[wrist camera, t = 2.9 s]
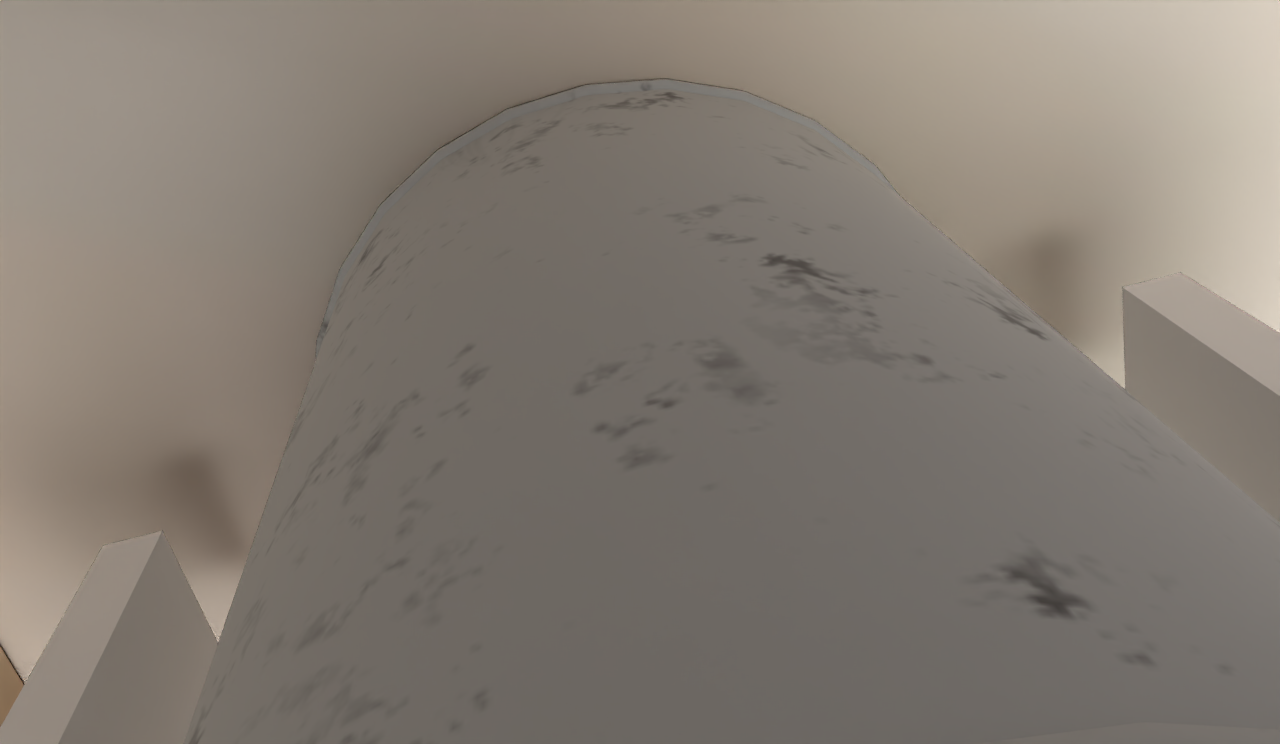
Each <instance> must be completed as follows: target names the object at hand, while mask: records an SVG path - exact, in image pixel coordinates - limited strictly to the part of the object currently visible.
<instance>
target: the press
mask: <svg viewBox="0 0 1280 744" xmlns="http://www.w3.org/2000/svg"><path fill="white" fill-rule="evenodd" d="M23 686H24V685H23V683H22V681H21V680H20V678H19V676H18V675H17V673H16V672H15V670H14V668H13V667H12V665H11V663H10V662H9V660H8V658H7V657H6V655H5V653H4V652H3V650H2V649H1V647H0V727H1V725H2V723H3V722H4V720H5V718H6V716H7V715H8V713H9V711H10V709H11V708H12V706H13V704H14V702H15V700H16V699H17V697H18V695H19V693H20V692H21V690H22V688H23Z"/></svg>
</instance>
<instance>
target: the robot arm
mask: <svg viewBox="0 0 1280 744" xmlns="http://www.w3.org/2000/svg"><path fill="white" fill-rule="evenodd" d="M1122 298H1123V329H1124V361H1125V390H1126V391H1127V392H1128V393H1129V394H1131V395H1132V396H1133V397H1134V398H1135V399H1136V400H1138V401H1139V402H1140V403H1141V404H1142V405H1143V406H1145V407H1146V408H1147V409H1148V410H1149V411H1150V412H1152V413H1153V414H1154V415H1155V416H1156V417H1157V418H1159V419H1160V420H1161V421H1162V422H1163V423H1164V424H1166V425H1167V426H1168V427H1169V428H1170V429H1171V430H1173V431H1174V432H1175V433H1176V434H1177V435H1178V436H1179V437H1181V438H1182V439H1183V440H1184V441H1185V442H1186V443H1188V444H1189V445H1190V446H1191V447H1192V448H1193V449H1195V450H1196V451H1197V452H1198V453H1199V454H1200V455H1202V456H1203V457H1204V458H1205V459H1206V460H1207V461H1209V462H1210V463H1211V464H1212V465H1213V466H1214V467H1216V468H1217V469H1218V470H1219V471H1220V472H1221V473H1223V474H1224V475H1225V476H1226V477H1227V478H1228V479H1230V480H1231V481H1232V482H1233V483H1234V484H1235V485H1236V486H1238V487H1239V488H1240V489H1241V490H1242V491H1243V492H1245V493H1246V494H1247V495H1248V496H1249V497H1250V498H1252V499H1253V500H1254V501H1255V502H1256V503H1257V504H1259V505H1260V506H1261V507H1262V508H1263V509H1264V510H1266V511H1267V512H1268V513H1269V514H1270V515H1271V516H1273V517H1274V518H1275V519H1276V520H1277V521H1278V522H1280V333H1279V332H1277V331H1276V330H1274V329H1272V328H1271V327H1269V326H1267V325H1266V324H1264V323H1262V322H1261V321H1259V320H1258V319H1256V318H1254V317H1253V316H1251V315H1249V314H1248V313H1246V312H1244V311H1243V310H1241V309H1240V308H1238V307H1236V306H1235V305H1233V304H1231V303H1230V302H1228V301H1226V300H1225V299H1223V298H1222V297H1220V296H1218V295H1217V294H1215V293H1213V292H1212V291H1210V290H1208V289H1207V288H1205V287H1204V286H1202V285H1200V284H1199V283H1197V282H1195V281H1194V280H1192V279H1190V278H1189V277H1187V276H1186V275H1184V274H1182V273H1181V272H1180V273H1176V274H1172V275H1168V276H1164V277H1160V278H1156V279H1152V280H1148V281H1144V282H1140V283H1136V284H1132V285H1128V286H1124V287H1122ZM217 645H218V642H217V640H216V638H215V636H214V634H213V632H212V630H211V628H210V626H209V624H208V622H207V620H206V618H205V615H204V613H203V611H202V609H201V607H200V605H199V603H198V601H197V599H196V597H195V595H194V593H193V591H192V589H191V587H190V585H189V583H188V581H187V579H186V577H185V575H184V573H183V571H182V569H181V567H180V565H179V563H178V561H177V559H176V557H175V555H174V553H173V551H172V549H171V547H170V545H169V543H168V541H167V539H166V537H165V534H164V532H163V530H162V531H159V532H155V533H151V534H147V535H143V536H139V537H135V538H131V539H127V540H123V541H119V542H115V543H111V544H107V545H103V546H102V548H101V550H100V552H99V554H98V555H97V557H96V559H95V561H94V562H93V564H92V566H91V568H90V569H89V571H88V573H87V575H86V577H85V578H84V580H83V582H82V584H81V585H80V587H79V589H78V591H77V592H76V594H75V596H74V598H73V600H72V601H71V603H70V605H69V607H68V608H67V610H66V612H65V614H64V615H63V617H62V619H61V621H60V623H59V624H58V626H57V628H56V630H55V631H54V633H53V635H52V637H51V638H50V640H49V642H48V644H47V646H46V647H45V649H44V651H43V653H42V654H41V656H40V658H39V660H38V662H37V663H36V665H35V667H34V669H33V670H32V672H31V674H30V676H29V677H28V679H27V681H26V683H25V685H24V686H23V688H22V690H21V692H20V693H19V695H18V697H17V699H16V700H15V702H14V704H13V706H12V708H11V709H10V711H9V713H8V715H7V716H6V718H5V720H4V722H3V723H2V725H1V727H0V744H183V743H184V740H185V738H186V735H187V732H188V729H189V726H190V723H191V720H192V717H193V714H194V712H195V709H196V706H197V703H198V700H199V697H200V694H201V691H202V688H203V685H204V683H205V680H206V677H207V674H208V671H209V668H210V665H211V662H212V659H213V657H214V654H215V651H216V648H217Z"/></svg>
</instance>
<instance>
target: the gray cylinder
mask: <svg viewBox="0 0 1280 744" xmlns="http://www.w3.org/2000/svg"><path fill="white" fill-rule="evenodd" d="M183 744H1280V522H1278V521H1277V520H1276V519H1275V518H1274V517H1273V516H1271V515H1270V514H1269V513H1268V512H1267V511H1266V510H1264V509H1263V508H1262V507H1261V506H1260V505H1259V504H1257V503H1256V502H1255V501H1254V500H1253V499H1252V498H1250V497H1249V496H1248V495H1247V494H1246V493H1245V492H1243V491H1242V490H1241V489H1240V488H1239V487H1238V486H1236V485H1235V484H1234V483H1233V482H1232V481H1231V480H1230V479H1228V478H1227V477H1226V476H1225V475H1224V474H1223V473H1221V472H1220V471H1219V470H1218V469H1217V468H1216V467H1214V466H1213V465H1212V464H1211V463H1210V462H1209V461H1207V460H1206V459H1205V458H1204V457H1203V456H1202V455H1200V454H1199V453H1198V452H1197V451H1196V450H1195V449H1193V448H1192V447H1191V446H1190V445H1189V444H1188V443H1186V442H1185V441H1184V440H1183V439H1182V438H1181V437H1179V436H1178V435H1177V434H1176V433H1175V432H1174V431H1173V430H1171V429H1170V428H1169V427H1168V426H1167V425H1166V424H1164V423H1163V422H1162V421H1161V420H1160V419H1159V418H1157V417H1156V416H1155V415H1154V414H1153V413H1152V412H1150V411H1149V410H1148V409H1147V408H1146V407H1145V406H1143V405H1142V404H1141V403H1140V402H1139V401H1138V400H1136V399H1135V398H1134V397H1133V396H1132V395H1131V394H1129V393H1128V392H1127V391H1126V390H1125V389H1124V388H1122V387H1121V386H1120V385H1119V384H1118V383H1117V382H1115V381H1114V380H1113V379H1112V378H1111V377H1110V376H1109V375H1107V374H1106V373H1105V372H1104V371H1103V370H1102V369H1100V368H1099V367H1098V366H1097V365H1096V364H1095V363H1093V362H1092V361H1091V360H1090V359H1089V358H1088V357H1086V356H1085V355H1084V354H1083V353H1082V352H1081V351H1079V350H1078V349H1077V348H1076V347H1075V346H1074V345H1072V344H1071V343H1070V342H1069V341H1068V340H1067V339H1065V338H1064V337H1063V336H1062V335H1061V334H1060V333H1058V332H1057V331H1056V330H1055V329H1054V328H1053V327H1052V326H1050V325H1049V324H1048V323H1047V322H1046V321H1045V320H1043V319H1042V318H1041V317H1040V316H1039V315H1038V314H1036V313H1035V312H1034V311H1033V310H1032V309H1031V308H1029V307H1028V306H1027V305H1026V304H1025V303H1024V302H1022V301H1021V300H1020V299H1019V298H1018V297H1017V296H1015V295H1014V294H1013V293H1012V292H1011V291H1010V290H1008V289H1007V288H1006V287H1005V286H1004V285H1003V284H1001V283H1000V282H999V281H998V280H997V279H996V278H995V277H993V276H992V275H991V274H990V273H989V272H988V271H986V270H985V269H984V268H983V267H982V266H981V265H979V264H978V263H977V262H976V261H975V260H974V259H972V258H971V257H970V256H969V255H968V254H967V253H965V252H964V251H963V250H962V249H961V248H960V247H958V246H957V245H956V244H955V243H954V242H953V241H951V240H950V239H949V238H948V237H947V236H946V235H944V234H943V233H942V232H941V231H940V230H939V229H937V228H936V227H935V226H934V225H933V224H932V223H931V222H929V221H928V220H927V219H926V218H925V217H924V216H922V215H921V214H920V213H919V212H918V211H917V210H915V209H914V208H913V207H912V206H911V205H910V204H908V203H907V202H906V201H905V200H904V199H903V198H901V197H900V195H899V194H898V193H897V192H896V190H895V189H894V188H893V187H892V185H891V184H890V183H889V182H888V181H887V179H886V178H885V177H884V176H883V174H882V173H881V172H880V171H879V169H878V168H877V167H876V166H875V165H874V164H873V163H871V162H870V161H869V160H867V159H866V158H865V157H863V156H862V155H861V154H859V153H858V152H857V151H855V150H854V149H853V148H851V147H850V146H849V145H847V144H846V143H844V142H843V141H842V140H840V139H839V138H838V137H836V136H835V135H834V134H832V133H831V132H830V131H828V130H827V129H826V128H824V127H823V126H822V125H820V124H819V123H818V122H816V121H815V120H813V119H810V118H808V117H806V116H803V115H801V114H798V113H796V112H794V111H791V110H789V109H786V108H784V107H781V106H779V105H777V104H774V103H772V102H769V101H767V100H765V99H762V98H760V97H757V96H755V95H753V94H750V93H748V92H745V91H741V90H734V89H728V88H722V87H715V86H709V85H703V84H696V83H690V82H683V81H677V80H671V79H656V80H643V81H630V82H616V83H603V84H590V85H583V86H580V87H576V88H573V89H570V90H567V91H564V92H560V93H557V94H554V95H551V96H548V97H544V98H541V99H538V100H535V101H532V102H528V103H525V104H522V105H519V106H516V107H512V108H509V109H506V110H505V111H503V112H501V113H500V114H498V115H496V116H494V117H493V118H491V119H489V120H488V121H486V122H484V123H483V124H481V125H479V126H477V127H476V128H474V129H472V130H471V131H469V132H467V133H466V134H464V135H462V136H460V137H459V138H457V139H455V140H454V141H452V142H450V143H449V144H447V145H445V146H443V147H442V148H440V149H438V150H437V151H436V152H435V153H434V154H433V155H432V156H431V157H429V158H428V159H427V160H426V161H425V162H424V163H423V164H422V165H421V166H420V167H419V168H418V169H417V170H416V171H415V172H414V173H413V174H412V175H411V176H410V177H409V178H408V179H407V180H406V181H404V182H403V183H402V184H401V185H400V186H399V187H398V188H397V189H396V190H395V191H394V192H393V193H392V194H391V195H390V196H389V197H388V198H387V199H386V200H385V201H384V202H383V203H382V204H381V205H380V206H379V208H378V209H377V211H376V212H375V214H374V216H373V217H372V219H371V220H370V222H369V223H368V225H367V227H366V228H365V230H364V231H363V233H362V234H361V236H360V238H359V239H358V241H357V242H356V244H355V246H354V247H353V249H352V250H351V252H350V253H349V255H348V257H347V258H346V260H345V261H344V263H343V264H342V266H341V268H340V270H339V273H338V276H337V279H336V282H335V285H334V288H333V291H332V295H331V298H330V301H329V304H328V307H327V310H326V313H325V316H324V319H323V322H322V325H321V328H320V331H319V334H318V337H317V343H316V360H315V365H314V367H313V370H312V373H311V376H310V379H309V382H308V385H307V388H306V391H305V393H304V396H303V399H302V402H301V405H300V408H299V411H298V414H297V417H296V419H295V422H294V425H293V428H292V431H291V434H290V437H289V440H288V443H287V446H286V448H285V451H284V454H283V457H282V460H281V463H280V466H279V469H278V472H277V474H276V477H275V480H274V483H273V486H272V489H271V492H270V495H269V498H268V500H267V503H266V506H265V509H264V512H263V515H262V518H261V521H260V524H259V526H258V529H257V532H256V535H255V538H254V541H253V544H252V547H251V550H250V552H249V555H248V558H247V561H246V564H245V567H244V570H243V573H242V576H241V579H240V581H239V584H238V587H237V590H236V593H235V596H234V599H233V602H232V605H231V607H230V610H229V613H228V616H227V619H226V622H225V625H224V628H223V631H222V633H221V636H220V639H219V642H218V645H217V648H216V651H215V654H214V657H213V659H212V662H211V665H210V668H209V671H208V674H207V677H206V680H205V683H204V685H203V688H202V691H201V694H200V697H199V700H198V703H197V706H196V709H195V712H194V714H193V717H192V720H191V723H190V726H189V729H188V732H187V735H186V738H185V740H184V743H183Z"/></svg>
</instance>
